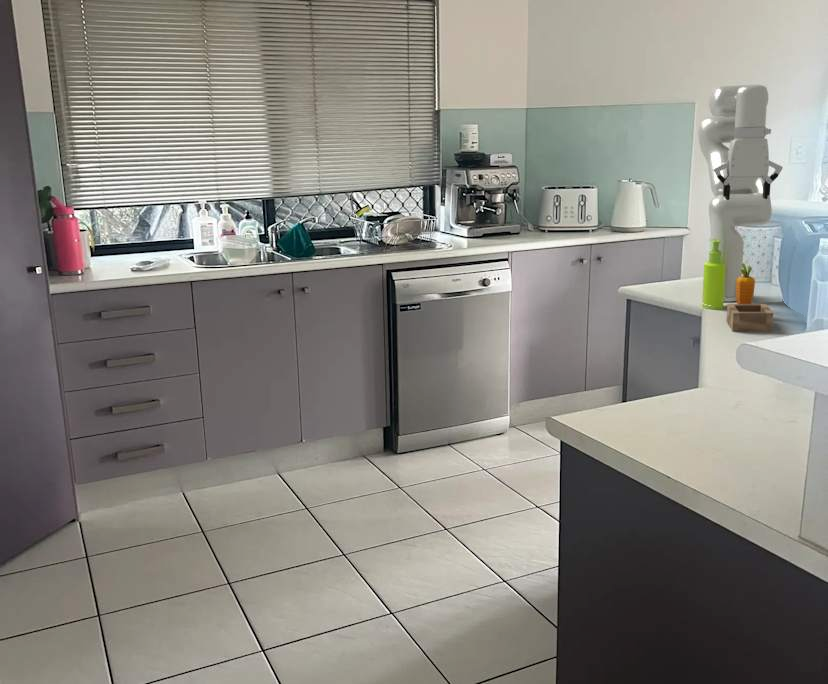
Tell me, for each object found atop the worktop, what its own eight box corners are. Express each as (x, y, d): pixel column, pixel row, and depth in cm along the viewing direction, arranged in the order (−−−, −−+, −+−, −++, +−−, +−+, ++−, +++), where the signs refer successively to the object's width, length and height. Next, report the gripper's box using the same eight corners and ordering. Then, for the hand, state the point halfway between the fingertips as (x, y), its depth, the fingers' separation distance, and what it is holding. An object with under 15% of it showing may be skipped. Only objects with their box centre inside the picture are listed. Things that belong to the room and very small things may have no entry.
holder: (726, 321, 233) (727, 304, 232) (764, 321, 231) (765, 303, 230) (732, 331, 224) (733, 313, 222) (772, 331, 222) (773, 313, 220)
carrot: (754, 318, 235) (757, 265, 230) (735, 318, 236) (738, 265, 231) (751, 313, 239) (754, 262, 235) (732, 313, 240) (735, 262, 236)
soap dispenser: (719, 303, 252) (722, 237, 246) (725, 308, 246) (729, 241, 240) (699, 303, 253) (702, 238, 247) (704, 309, 246) (707, 242, 241)
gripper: (781, 132, 223) (777, 196, 228) (713, 135, 227) (710, 198, 232) (787, 133, 216) (783, 199, 221) (717, 136, 220) (714, 201, 225)
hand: (746, 198), depth 226 cm, fingers open, 9 cm apart
